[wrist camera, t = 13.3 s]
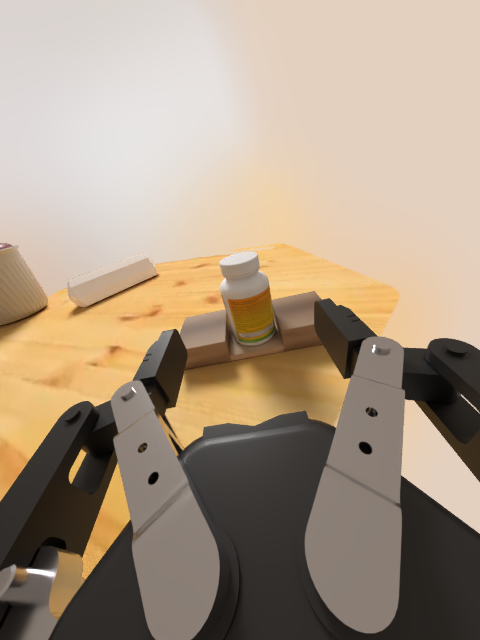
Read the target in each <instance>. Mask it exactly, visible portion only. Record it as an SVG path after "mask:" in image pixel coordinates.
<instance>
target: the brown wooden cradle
mask: <svg viewBox="0 0 480 640" xmlns="http://www.w3.org/2000/svg"><path fill="white" fill-rule="evenodd" d="M318 300H322V299H321V298H320V297H319V296H318V295H317V294H316V292H315V291H313V292H308V293H303V294H298V295H294V296H289V297H284V298H279V299H274V300H271V301H272V308H273V315H274V321H275V333H274V335H273V337H272V338H271V339H269V340H268V341H267V342H265V343H263V344H260V345H255V346H248V345H243V344H240V343H238V342H237V341H236V340H235V338H234V336H233V333H232V329H231V326H230V322H229V319H228V316H227V312H226V310H221V311H216V312H211V313H207V314H202V315H197V316H192V317H187V318H185V321H184V324H183V326H182V329H181V332H180V336H181V338H182V340H183V343H184V345H185V347H186V349H187V353H188V358H187V362H186V366H185V369H191V368H196V367H202V366H207V365H212V364H218V363H223V362H229V361H234V360H239V359H245V358H250V357H256V356H261V355H266V354H272V353H277V352H283V351H288V350H294V349H299V348H304V347H310V346H315V345H321V344H322V342H321V340H320V339H319V337H318V335H317V334H316V331H315V327H314V302H315V301H318Z"/></svg>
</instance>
